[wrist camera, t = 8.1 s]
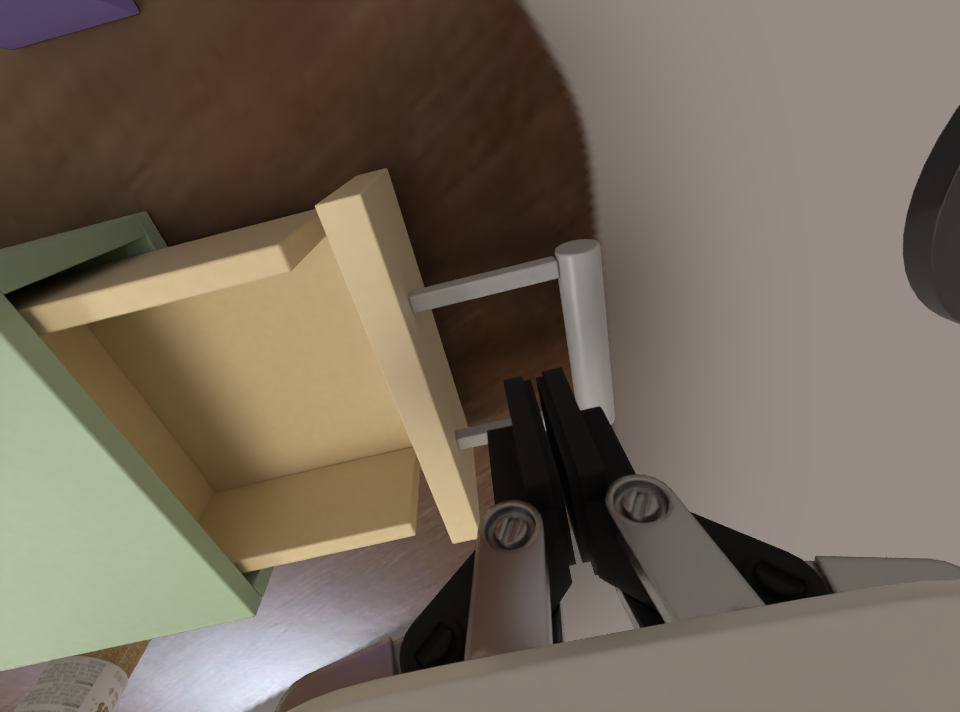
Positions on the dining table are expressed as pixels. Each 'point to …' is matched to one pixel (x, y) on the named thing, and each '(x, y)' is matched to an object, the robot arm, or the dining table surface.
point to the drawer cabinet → (90, 493)
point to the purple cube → (55, 18)
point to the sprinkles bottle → (84, 681)
